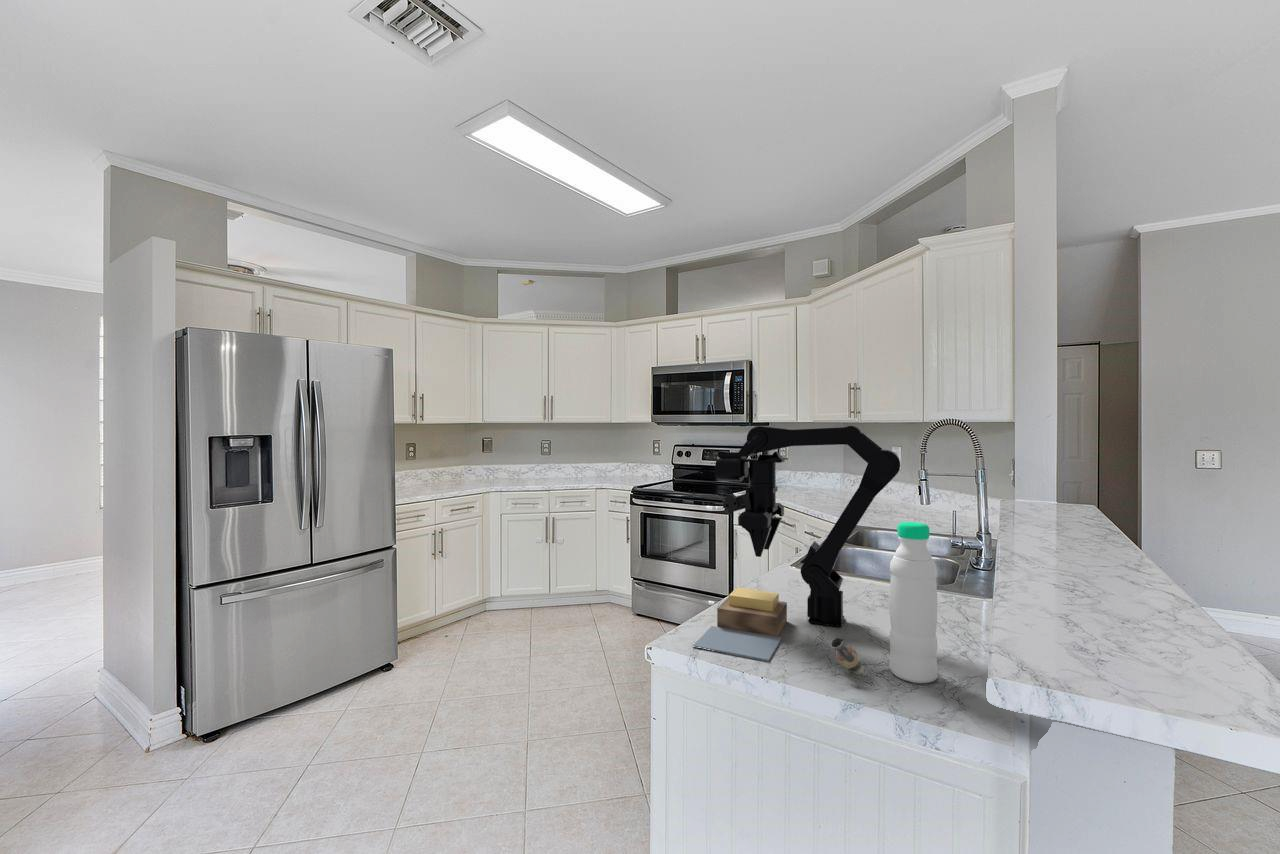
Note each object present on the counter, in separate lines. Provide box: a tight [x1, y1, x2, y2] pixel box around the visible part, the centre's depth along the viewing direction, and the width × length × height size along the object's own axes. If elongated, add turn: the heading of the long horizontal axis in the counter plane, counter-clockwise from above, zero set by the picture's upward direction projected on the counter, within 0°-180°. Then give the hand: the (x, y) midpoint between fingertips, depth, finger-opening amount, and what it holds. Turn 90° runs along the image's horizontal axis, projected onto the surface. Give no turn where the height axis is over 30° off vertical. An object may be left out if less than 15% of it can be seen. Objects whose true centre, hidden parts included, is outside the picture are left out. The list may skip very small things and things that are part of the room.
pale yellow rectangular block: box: [728, 587, 780, 611], centre depth 113 cm, size 9×6×2 cm, turn 64°
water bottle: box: [889, 521, 938, 684], centre depth 89 cm, size 7×7×25 cm
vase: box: [829, 637, 871, 678], centre depth 90 cm, size 5×5×6 cm
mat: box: [692, 625, 782, 663], centre depth 102 cm, size 14×11×1 cm
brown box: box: [716, 596, 788, 637], centre depth 112 cm, size 12×10×4 cm
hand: (762, 552), depth 120 cm, fingers open, 7 cm apart
